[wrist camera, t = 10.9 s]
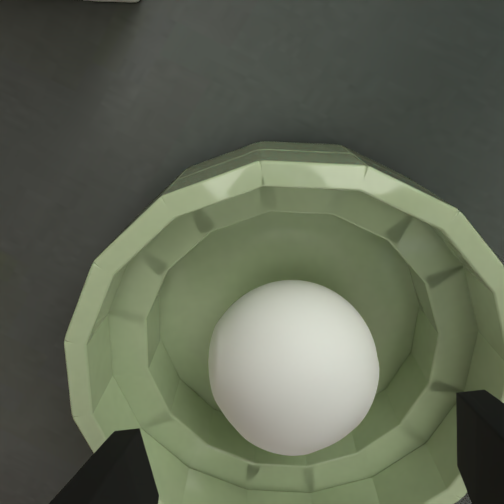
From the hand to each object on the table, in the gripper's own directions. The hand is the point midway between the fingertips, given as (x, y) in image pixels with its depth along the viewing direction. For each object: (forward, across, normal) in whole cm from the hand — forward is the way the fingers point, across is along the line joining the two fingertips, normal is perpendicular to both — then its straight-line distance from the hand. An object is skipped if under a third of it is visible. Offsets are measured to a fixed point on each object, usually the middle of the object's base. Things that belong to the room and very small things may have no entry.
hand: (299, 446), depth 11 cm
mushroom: (+6, 0, 0) cm, 6 cm away
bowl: (+6, 0, 0) cm, 6 cm away
